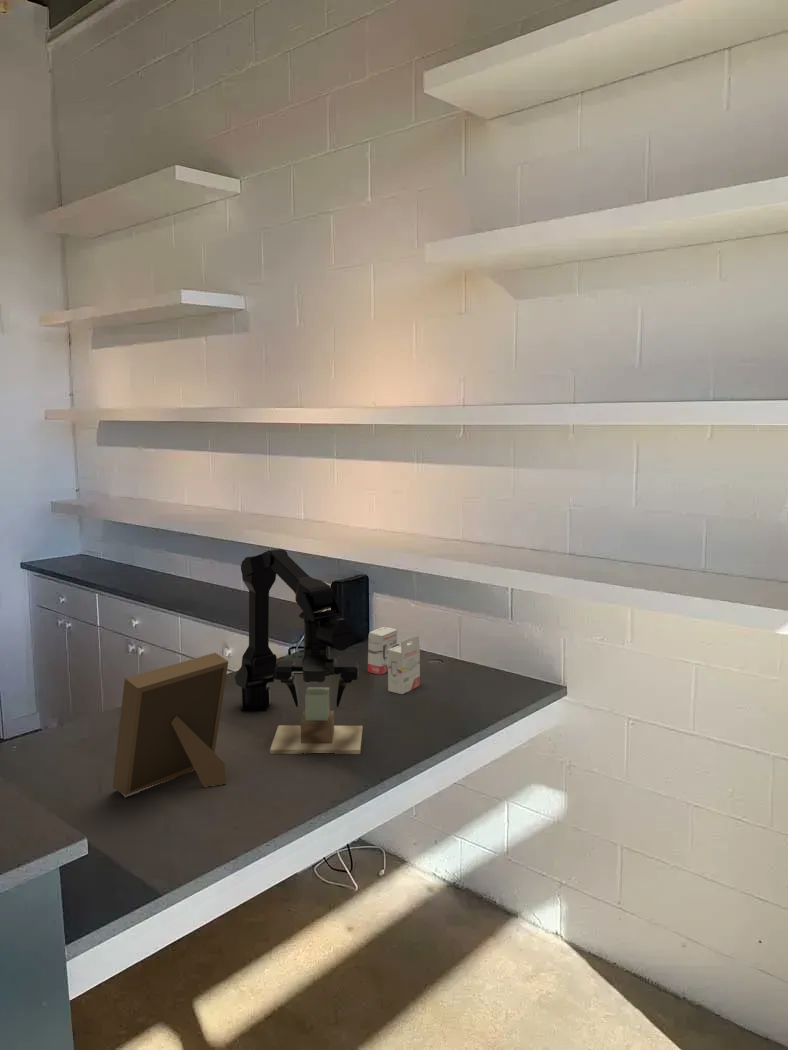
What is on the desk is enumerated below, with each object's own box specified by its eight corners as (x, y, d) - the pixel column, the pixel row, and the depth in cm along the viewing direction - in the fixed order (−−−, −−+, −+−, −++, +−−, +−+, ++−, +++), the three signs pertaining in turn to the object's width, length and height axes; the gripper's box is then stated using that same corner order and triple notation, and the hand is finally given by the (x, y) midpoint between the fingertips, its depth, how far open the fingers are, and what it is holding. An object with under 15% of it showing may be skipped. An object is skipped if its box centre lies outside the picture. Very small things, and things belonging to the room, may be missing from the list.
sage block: (305, 720, 192) (305, 694, 191) (307, 712, 197) (307, 687, 196) (327, 720, 192) (327, 695, 191) (329, 712, 197) (329, 687, 196)
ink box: (381, 675, 241) (381, 635, 240) (367, 672, 244) (366, 632, 242) (398, 667, 249) (398, 628, 247) (383, 664, 251) (383, 625, 250)
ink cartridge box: (405, 682, 235) (406, 631, 233) (420, 686, 232) (420, 634, 230) (386, 691, 229) (386, 638, 226) (401, 695, 226) (401, 641, 224)
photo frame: (112, 791, 170) (108, 671, 166) (200, 757, 186) (198, 647, 182) (157, 815, 160) (153, 689, 157) (245, 777, 177) (244, 661, 173)
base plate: (269, 753, 188) (269, 728, 187) (278, 729, 202) (278, 705, 201) (360, 754, 188) (360, 728, 187) (362, 729, 202) (362, 705, 201)
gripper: (270, 650, 184) (271, 719, 186) (356, 650, 183) (356, 719, 186) (277, 636, 195) (278, 701, 197) (358, 636, 194) (358, 701, 197)
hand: (317, 706), depth 194 cm, fingers open, 9 cm apart
